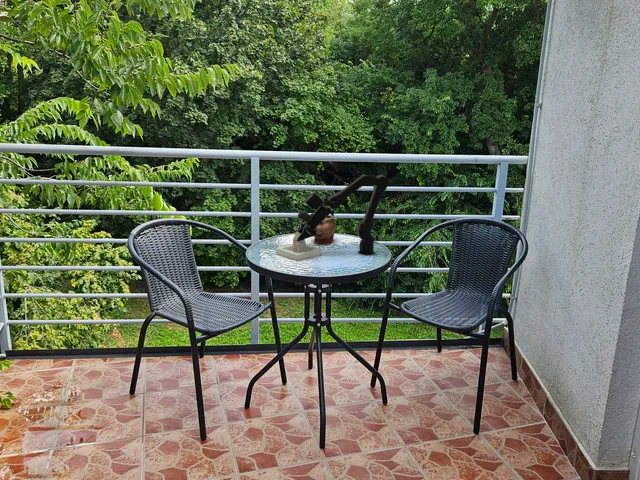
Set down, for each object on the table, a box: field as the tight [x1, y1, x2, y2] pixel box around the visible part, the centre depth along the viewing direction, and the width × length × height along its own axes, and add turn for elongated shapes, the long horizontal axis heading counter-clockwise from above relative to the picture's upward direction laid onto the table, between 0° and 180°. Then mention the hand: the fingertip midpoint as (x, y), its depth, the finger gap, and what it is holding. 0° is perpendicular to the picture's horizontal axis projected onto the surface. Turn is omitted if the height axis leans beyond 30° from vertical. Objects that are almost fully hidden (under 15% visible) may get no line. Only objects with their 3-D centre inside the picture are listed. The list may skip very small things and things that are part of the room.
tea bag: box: [292, 231, 307, 253], centre depth 271 cm, size 4×7×10 cm, turn 28°
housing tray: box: [275, 243, 323, 262], centre depth 272 cm, size 16×16×3 cm
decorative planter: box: [313, 215, 337, 245], centre depth 296 cm, size 20×12×14 cm, turn 164°
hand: (296, 239), depth 270 cm, fingers closed on tea bag, 7 cm apart
